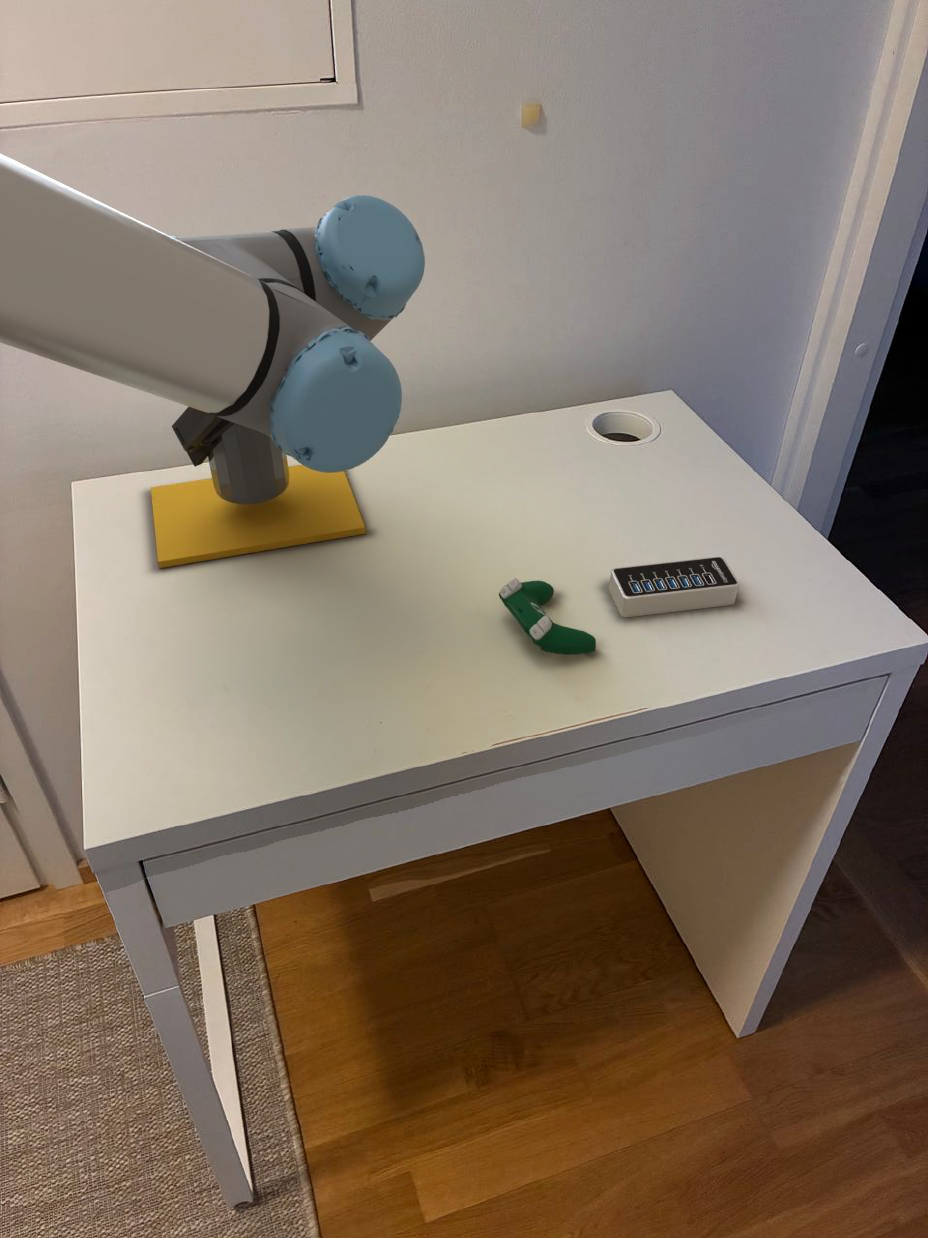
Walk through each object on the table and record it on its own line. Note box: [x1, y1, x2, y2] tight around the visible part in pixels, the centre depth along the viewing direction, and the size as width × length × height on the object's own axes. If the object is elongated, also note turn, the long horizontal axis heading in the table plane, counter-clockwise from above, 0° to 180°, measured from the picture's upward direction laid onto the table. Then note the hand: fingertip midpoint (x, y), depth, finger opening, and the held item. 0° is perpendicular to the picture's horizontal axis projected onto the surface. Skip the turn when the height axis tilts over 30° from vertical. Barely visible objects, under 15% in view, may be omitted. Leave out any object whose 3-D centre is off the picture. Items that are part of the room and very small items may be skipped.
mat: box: [150, 464, 367, 569], centre depth 98 cm, size 20×13×1 cm, turn 107°
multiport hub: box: [608, 556, 740, 618], centre depth 88 cm, size 4×11×2 cm, turn 101°
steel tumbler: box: [207, 423, 289, 504], centre depth 92 cm, size 7×7×10 cm
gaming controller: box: [498, 577, 597, 656], centre depth 84 cm, size 9×4×6 cm
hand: (228, 438), depth 95 cm, fingers closed on steel tumbler, 7 cm apart
